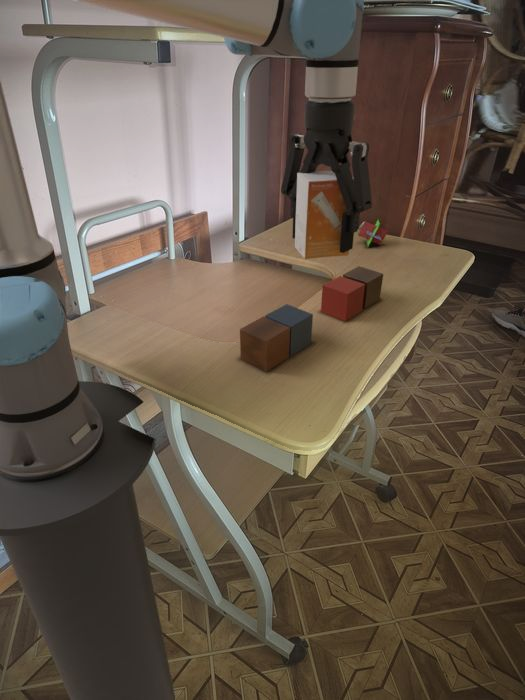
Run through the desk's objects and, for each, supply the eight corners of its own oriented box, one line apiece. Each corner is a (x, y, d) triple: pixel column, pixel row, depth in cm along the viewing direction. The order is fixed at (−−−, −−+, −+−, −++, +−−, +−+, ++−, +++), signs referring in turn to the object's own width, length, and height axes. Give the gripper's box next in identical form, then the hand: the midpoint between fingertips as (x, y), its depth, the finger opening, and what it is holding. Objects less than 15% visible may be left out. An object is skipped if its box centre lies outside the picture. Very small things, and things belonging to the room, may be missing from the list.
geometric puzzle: (391, 233, 135) (375, 209, 132) (394, 241, 130) (378, 217, 127) (367, 247, 138) (352, 224, 135) (370, 256, 132) (354, 233, 129)
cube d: (340, 300, 106) (342, 274, 102) (356, 291, 109) (358, 266, 106) (364, 309, 102) (367, 282, 99) (379, 299, 106) (383, 273, 103)
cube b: (264, 344, 91) (264, 315, 87) (286, 332, 94) (286, 303, 91) (290, 356, 87) (291, 326, 84) (311, 343, 91) (312, 314, 88)
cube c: (320, 312, 101) (322, 285, 98) (337, 302, 105) (340, 275, 102) (345, 321, 98) (348, 294, 95) (362, 311, 102) (365, 284, 98)
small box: (304, 260, 84) (307, 181, 77) (294, 247, 89) (296, 171, 82) (349, 256, 85) (356, 177, 78) (336, 243, 91) (342, 169, 84)
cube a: (240, 359, 87) (239, 329, 83) (263, 345, 90) (263, 316, 87) (266, 372, 83) (266, 341, 80) (289, 357, 87) (290, 327, 84)
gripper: (409, 102, 70) (389, 252, 82) (289, 93, 83) (286, 224, 95) (381, 107, 66) (364, 266, 78) (258, 96, 78) (260, 234, 90)
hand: (321, 243), depth 86 cm, fingers closed on small box, 9 cm apart
